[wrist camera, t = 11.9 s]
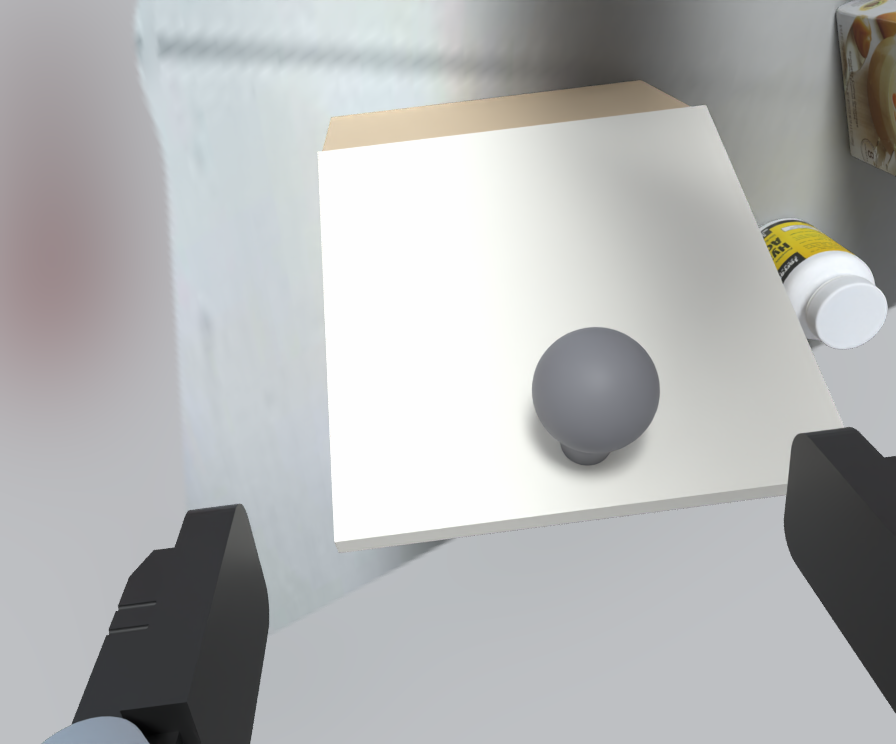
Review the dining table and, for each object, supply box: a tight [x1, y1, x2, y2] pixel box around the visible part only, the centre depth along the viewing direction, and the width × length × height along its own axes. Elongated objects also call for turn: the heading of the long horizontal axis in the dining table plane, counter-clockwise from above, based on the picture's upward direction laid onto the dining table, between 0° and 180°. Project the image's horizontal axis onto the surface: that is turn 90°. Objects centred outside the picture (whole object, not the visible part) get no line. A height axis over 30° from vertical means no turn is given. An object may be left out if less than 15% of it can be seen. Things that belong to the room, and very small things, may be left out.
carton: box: [322, 80, 691, 151], centre depth 48 cm, size 19×18×10 cm
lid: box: [318, 105, 845, 553], centre depth 32 cm, size 19×18×6 cm
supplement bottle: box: [759, 218, 888, 350], centre depth 50 cm, size 5×5×10 cm
